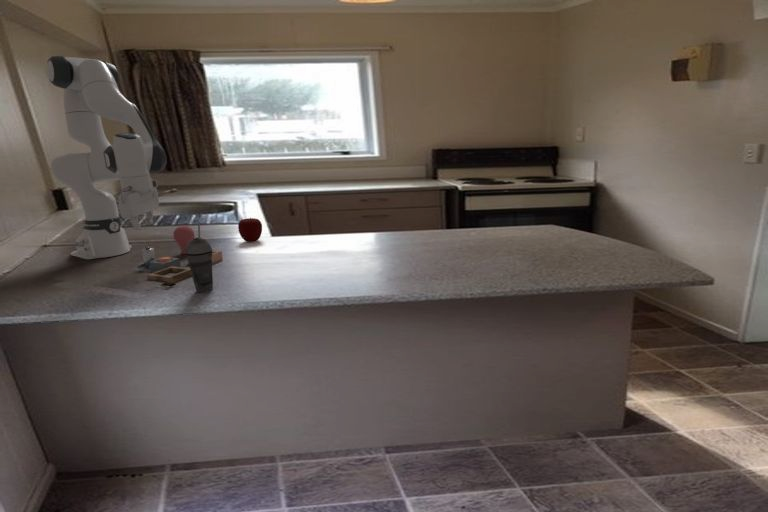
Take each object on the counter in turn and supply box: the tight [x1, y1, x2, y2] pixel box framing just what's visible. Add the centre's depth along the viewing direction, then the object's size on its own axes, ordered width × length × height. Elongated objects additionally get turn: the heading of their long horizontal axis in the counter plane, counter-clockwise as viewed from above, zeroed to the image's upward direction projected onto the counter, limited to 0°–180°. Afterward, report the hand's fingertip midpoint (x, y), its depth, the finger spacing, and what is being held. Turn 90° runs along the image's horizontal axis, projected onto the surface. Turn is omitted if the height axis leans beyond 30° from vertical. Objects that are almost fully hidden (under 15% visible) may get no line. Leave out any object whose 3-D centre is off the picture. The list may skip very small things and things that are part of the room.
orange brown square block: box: [186, 250, 224, 266], centre depth 158 cm, size 8×8×4 cm
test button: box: [158, 256, 171, 262], centre depth 152 cm, size 4×4×2 cm
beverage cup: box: [184, 222, 214, 294], centre depth 131 cm, size 7×7×20 cm
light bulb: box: [173, 225, 195, 255], centre depth 169 cm, size 7×7×12 cm
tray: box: [146, 266, 192, 287], centre depth 143 cm, size 9×9×3 cm
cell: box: [141, 246, 157, 268], centre depth 154 cm, size 4×4×7 cm
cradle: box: [130, 256, 186, 273], centre depth 153 cm, size 14×10×4 cm
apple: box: [237, 217, 263, 243], centre depth 190 cm, size 10×10×10 cm
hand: (143, 226), depth 151 cm, fingers open, 7 cm apart
